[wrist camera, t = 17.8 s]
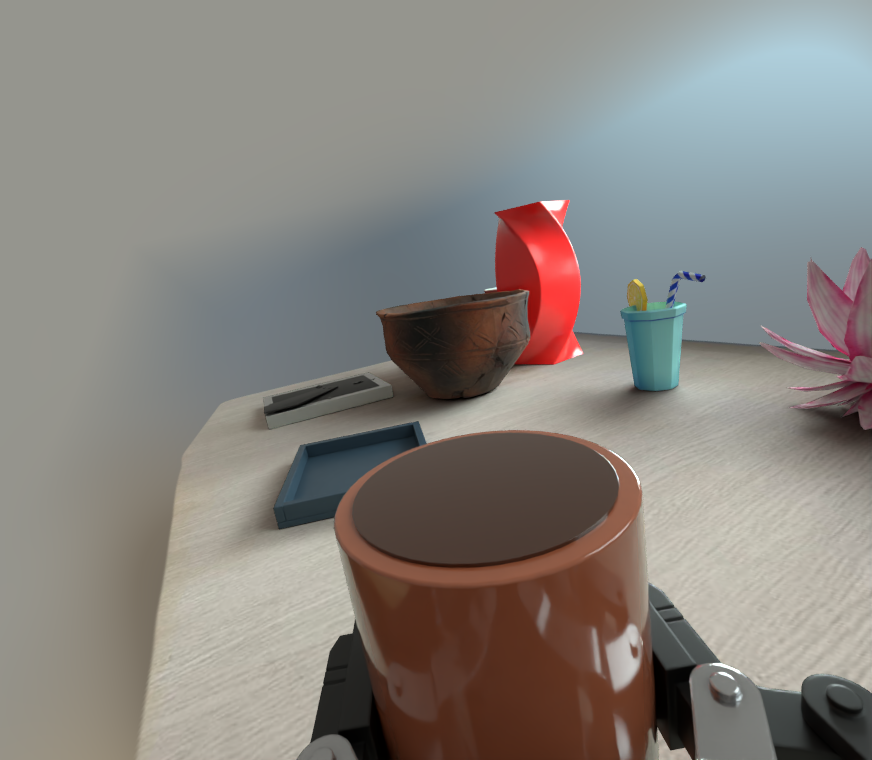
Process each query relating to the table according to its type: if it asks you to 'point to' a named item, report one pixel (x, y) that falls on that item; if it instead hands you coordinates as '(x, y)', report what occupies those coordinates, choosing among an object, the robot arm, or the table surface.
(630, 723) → the tumbler
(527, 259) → the vase
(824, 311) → the decorative flower
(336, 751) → the robot arm
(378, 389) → the picture frame
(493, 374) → the bowl
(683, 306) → the cup
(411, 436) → the tray
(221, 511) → the table surface
